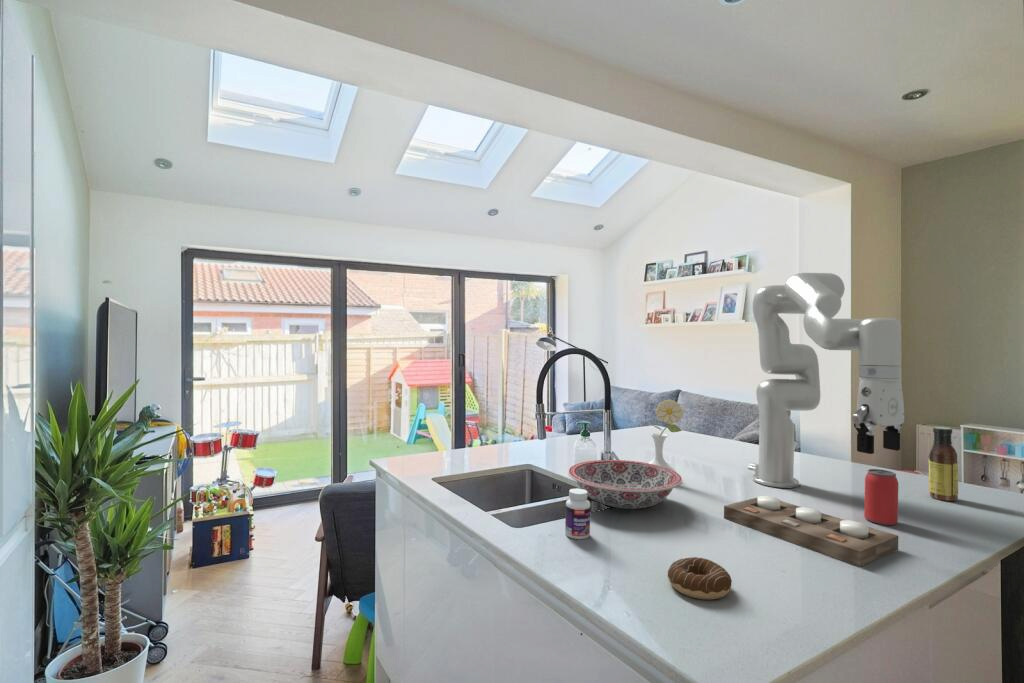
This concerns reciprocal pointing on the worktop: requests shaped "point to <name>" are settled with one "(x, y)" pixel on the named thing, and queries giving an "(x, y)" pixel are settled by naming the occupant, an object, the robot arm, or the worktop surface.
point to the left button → (768, 503)
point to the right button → (854, 529)
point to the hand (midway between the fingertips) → (878, 451)
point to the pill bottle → (577, 514)
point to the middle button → (808, 515)
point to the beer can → (881, 497)
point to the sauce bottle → (943, 466)
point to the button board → (813, 532)
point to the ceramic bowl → (625, 482)
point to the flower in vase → (669, 414)
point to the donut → (699, 578)
